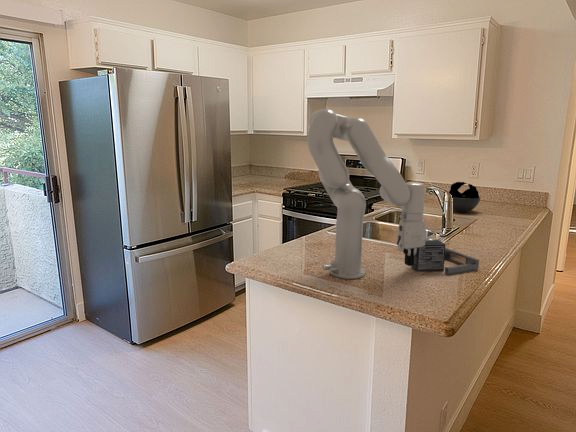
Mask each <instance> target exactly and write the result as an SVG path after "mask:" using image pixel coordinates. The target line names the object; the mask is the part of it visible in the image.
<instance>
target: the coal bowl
mask: <svg viewBox="0 0 576 432" xmlns="http://www.w3.org/2000/svg"><path fill="white" fill-rule="evenodd" d="M466 184H467V186H468V187H469V188H467V189H465V190H464V191H463V192H460V191H459V190H460V189H461V187H462V186H464V185H466ZM448 192H449V193H450V194H451V195H452V198H453V209H452V210H453V211H456V212H459V213H468V212H470V211H472V210H474V209H475V208H476V207H477V206H478V205H479V203H480V201H481V196H480V195H479V190H478V189H477V187H476V186H474V185H473V184H471V183H467V182H465V181H456V182H453V183H452V184H451V185H450V189H449V191H448Z"/></svg>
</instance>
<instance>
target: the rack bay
mask: <svg viewBox="0 0 576 432" xmlns="http://www.w3.org/2000/svg"><path fill="white" fill-rule="evenodd" d="M444 260H448V261H450V262H453V263H455V264H457V265H452V266H446V267H445V266H444V267H445V268H444V274H445V275H447V276H451V275H457V274H463V273H468V272H474V271H478V270H479V263H480V259H478V258H475V257H473V256H469V255H467V254H464V253H461V252H458V251H456V250H454V249H450V248H448V247H445V257H444Z"/></svg>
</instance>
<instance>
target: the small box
mask: <svg viewBox="0 0 576 432" xmlns="http://www.w3.org/2000/svg"><path fill="white" fill-rule="evenodd" d="M446 244H447V243H445V242H442V241H441V240H440V239H433V240H432V239H431V240H430V239H429V240H426V243H425V246H423V247H419V248H418V251H417V252H416V255H414V265H413V266H411V268H413V269H414V270H415V271H416V272H445V268H444V267H445V259H444V257H445V248H446Z"/></svg>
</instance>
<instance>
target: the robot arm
mask: <svg viewBox="0 0 576 432" xmlns="http://www.w3.org/2000/svg"><path fill="white" fill-rule="evenodd" d="M308 120H309V121H308V122H309V124H308V125H309V129H308V132H307V147H308V150H309V152H310V155H311V158H312V159H313V161H314V163H315V164H316V165H315V166H316V167H317V168H318V172H317V173H318V178H319V180H320V183H321V184H322V186H323V188H324V189H325V190H326V191H325V192H327V195H328V197H329V198H330V199H331V201H332V203H333V205H334V206H335V207H336V208H337V213H336V214H337V215H336V220H335V250H334V252H335V254H334V260H331V261H332V262H331V263H330V264H323V265H322V270H323V271H329V272H330V274H331V275H332V276H333V277H337V278H340V279H345V280H352V279H353V280H354V279H360V278H363V277H364V276H365V275H366V270H365V269H364V268H363V267H362V253H363V251H362V249H363V233H364V232H363V231H364V230H363V229H364V219H365V212H366V207H367V205H366V204H367V202H366V198H365V195H364V193H363V192H362V191H361V190H359V189H358V188H356V187H354V186H353V184H352V182H351V181H350V171H349V169H348V166H347V165H346V164H345V162H344V161H343V158H342V157H341V155H340V153H339V151H338V149H337V148H336V145H335V142H334V139H336V140H341V141H344V142H345V141H346V142H348V143H349V144H350V146H351V148H352V149H353V152H354V153H355V154H356V157H358V159H359V162H360V163H361V165H362V166H363V168H365V169H366V170H367V172H369V174H371V175H372V176H373V177H374V178H375V179H376V181H377V182H378V183H379V184H380V188H379V194H380V198H381V199H383V200H384V201H385V202H387V203H389V204H391V205H393V206H395V207H401V214H399V218H400V220H399V222H398V228H397V233H396V246H397V251H399V252H402V253H403V254H404V265H406V266H409V267H412V266H413V265H414V255H416V252H417V251H418V248H419V247H423V246H425V243H426V241H427V228H426V220H424V211H425V209H424V208H425V194H426V186H425V184H424V183H422V182H417V181H409V182H408V181H407V182H406V180H405V179H404V177H403V176H402V175H401V173H400V171H399V170H398V168H397V167H396V166H395V165H394V163H393V162H392V161H391V159H390V158H389V157H388V155H387V154H386V152H385V151H384V149H383V147H382V146H381V143H379V141H378V139H377V136H376V135H375V134H374V131H373V130H372V129H371V127H370V125H369V123H368V122H367V121H366V120H365V119H364V118H361V117H351V116H350V117H349V116H346V115H341V114H338V113H336V112H335V111H334V110H332V109H329V108H321V109H317V110H315V111H314V112H312V114H311V115H310V116H309V119H308Z"/></svg>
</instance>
